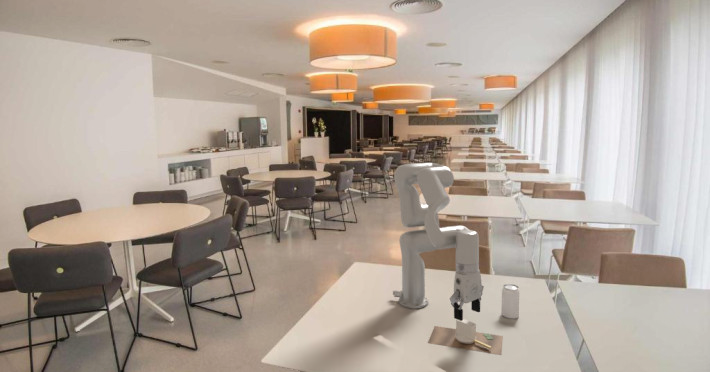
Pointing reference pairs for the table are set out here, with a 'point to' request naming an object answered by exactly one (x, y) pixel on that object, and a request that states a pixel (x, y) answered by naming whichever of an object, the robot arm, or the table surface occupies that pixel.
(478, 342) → the knob
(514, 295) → the can
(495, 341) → the dial board
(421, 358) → the table surface
